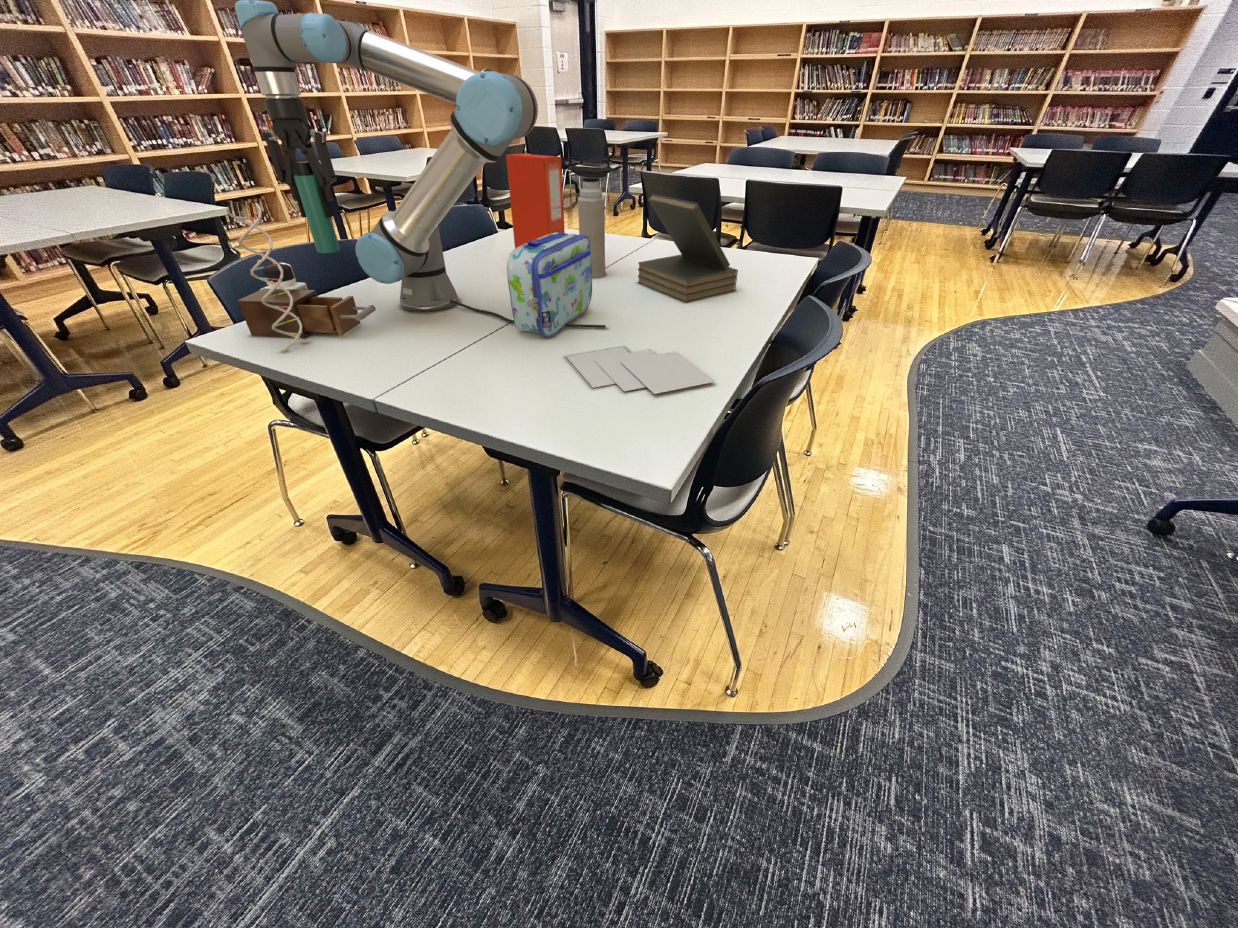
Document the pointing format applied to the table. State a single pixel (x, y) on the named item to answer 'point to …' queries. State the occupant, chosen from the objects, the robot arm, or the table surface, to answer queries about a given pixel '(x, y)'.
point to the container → (288, 277)
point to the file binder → (535, 196)
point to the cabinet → (273, 312)
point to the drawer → (331, 314)
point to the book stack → (687, 255)
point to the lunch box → (550, 282)
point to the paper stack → (639, 370)
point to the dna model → (269, 278)
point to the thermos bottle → (593, 222)
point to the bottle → (315, 209)
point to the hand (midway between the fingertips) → (318, 216)
